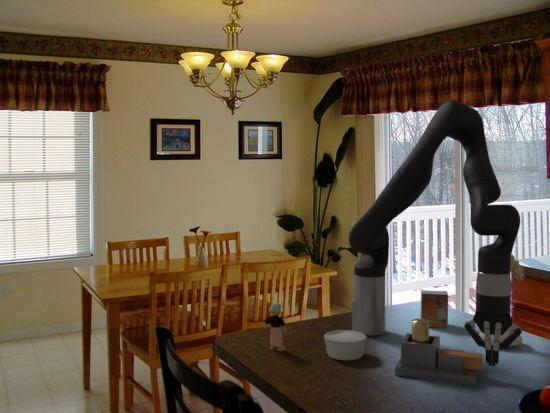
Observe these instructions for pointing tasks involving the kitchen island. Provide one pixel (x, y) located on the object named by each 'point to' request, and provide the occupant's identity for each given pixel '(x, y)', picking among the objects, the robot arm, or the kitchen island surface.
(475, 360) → the lock pin
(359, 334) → the ramekin
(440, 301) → the small box
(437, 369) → the dock
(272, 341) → the grandmother figurine
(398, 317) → the kitchen island surface
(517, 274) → the flower in vase
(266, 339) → the kitchen island surface
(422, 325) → the brass peg
